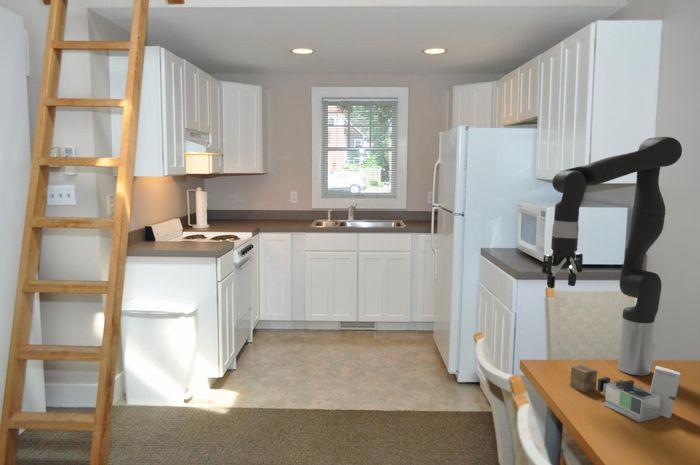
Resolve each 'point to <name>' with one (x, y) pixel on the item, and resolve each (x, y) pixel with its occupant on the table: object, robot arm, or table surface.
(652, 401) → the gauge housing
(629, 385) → the dark gray block
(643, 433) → the table surface
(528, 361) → the table surface
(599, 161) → the robot arm
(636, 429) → the table surface
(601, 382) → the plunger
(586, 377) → the walnut block
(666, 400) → the skincare box
